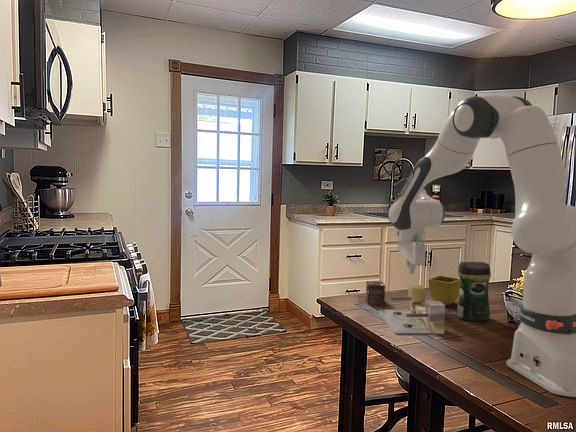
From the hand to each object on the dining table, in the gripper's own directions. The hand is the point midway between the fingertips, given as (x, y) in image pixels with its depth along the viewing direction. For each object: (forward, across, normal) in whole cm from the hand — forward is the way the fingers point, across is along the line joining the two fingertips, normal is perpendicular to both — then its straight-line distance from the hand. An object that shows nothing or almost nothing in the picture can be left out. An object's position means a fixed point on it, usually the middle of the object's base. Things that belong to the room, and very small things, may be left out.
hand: (410, 272), depth 154 cm
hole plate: (+12, -18, +8) cm, 23 cm away
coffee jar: (+12, -14, -16) cm, 25 cm away
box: (+12, +4, +12) cm, 17 cm away
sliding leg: (+9, -6, +3) cm, 11 cm away
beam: (+12, -16, +3) cm, 20 cm away
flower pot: (+12, +2, -13) cm, 18 cm away
